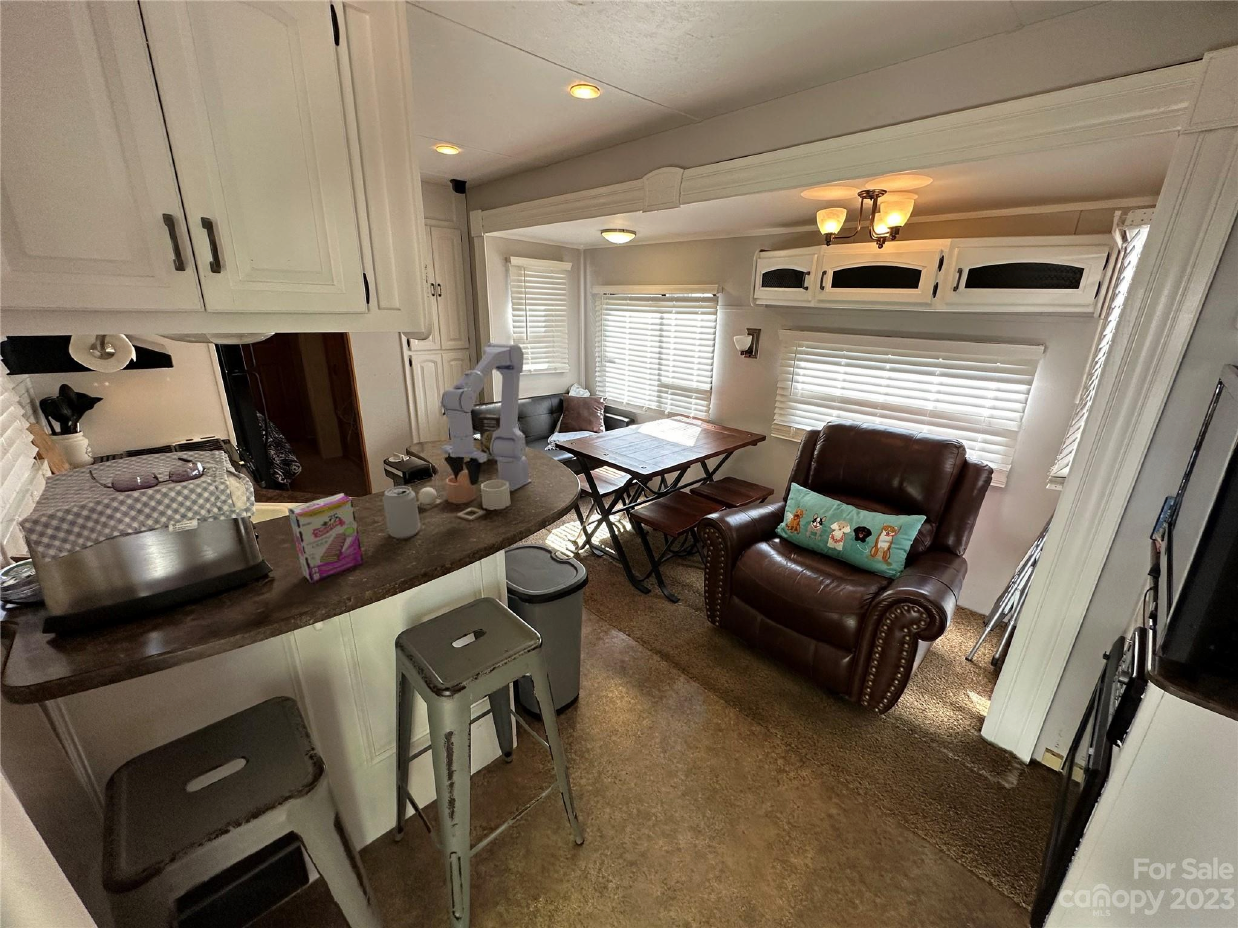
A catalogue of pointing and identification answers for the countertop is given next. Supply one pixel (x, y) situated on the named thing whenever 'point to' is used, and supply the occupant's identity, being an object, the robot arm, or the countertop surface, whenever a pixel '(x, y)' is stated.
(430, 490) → the cream ball
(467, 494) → the terracotta round cup
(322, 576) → the candy bar box
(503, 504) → the white cup
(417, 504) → the stand
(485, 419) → the coffee box
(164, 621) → the countertop surface
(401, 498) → the can
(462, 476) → the terracotta ball
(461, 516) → the stand
